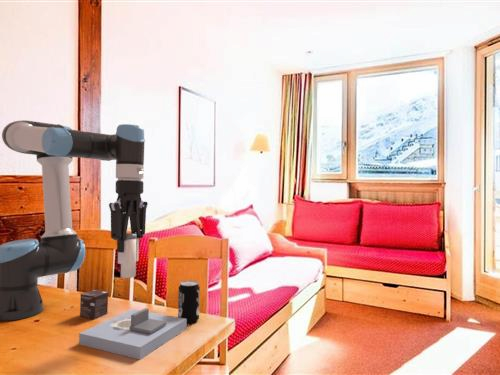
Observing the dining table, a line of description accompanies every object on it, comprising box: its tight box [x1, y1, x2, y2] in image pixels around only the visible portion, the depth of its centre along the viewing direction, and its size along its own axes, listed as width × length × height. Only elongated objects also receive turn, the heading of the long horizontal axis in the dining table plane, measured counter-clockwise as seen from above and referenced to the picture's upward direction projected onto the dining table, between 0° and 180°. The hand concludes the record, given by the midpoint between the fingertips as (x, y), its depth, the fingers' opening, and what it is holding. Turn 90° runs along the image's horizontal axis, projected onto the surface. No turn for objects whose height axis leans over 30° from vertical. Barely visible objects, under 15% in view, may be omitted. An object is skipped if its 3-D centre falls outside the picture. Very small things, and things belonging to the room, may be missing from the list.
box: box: [79, 289, 109, 320], centre depth 118 cm, size 6×6×7 cm
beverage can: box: [177, 279, 201, 325], centre depth 115 cm, size 7×7×12 cm
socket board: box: [78, 308, 188, 360], centre depth 102 cm, size 20×21×3 cm
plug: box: [120, 232, 137, 279], centre depth 103 cm, size 4×4×12 cm
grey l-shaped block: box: [130, 307, 166, 334], centre depth 101 cm, size 7×7×4 cm
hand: (128, 261), depth 103 cm, fingers closed on plug, 4 cm apart
